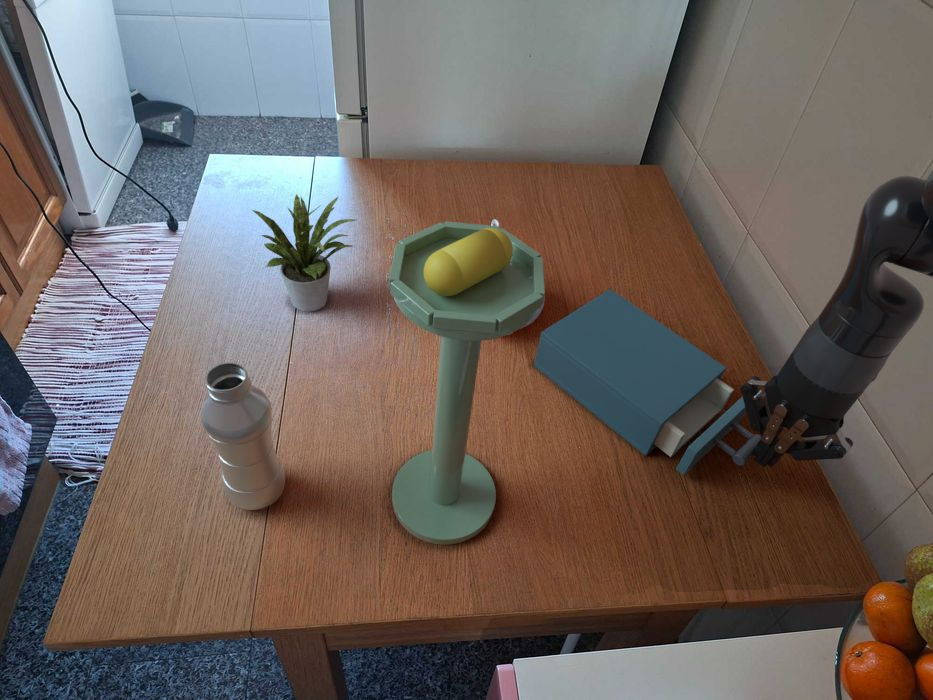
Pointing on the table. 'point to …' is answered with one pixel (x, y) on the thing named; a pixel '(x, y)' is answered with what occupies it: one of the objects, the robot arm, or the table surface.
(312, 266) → the house plant
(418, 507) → the cake stand
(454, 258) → the yellow rounded capsule
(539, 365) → the cabinet
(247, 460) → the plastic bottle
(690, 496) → the table surface
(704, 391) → the drawer
